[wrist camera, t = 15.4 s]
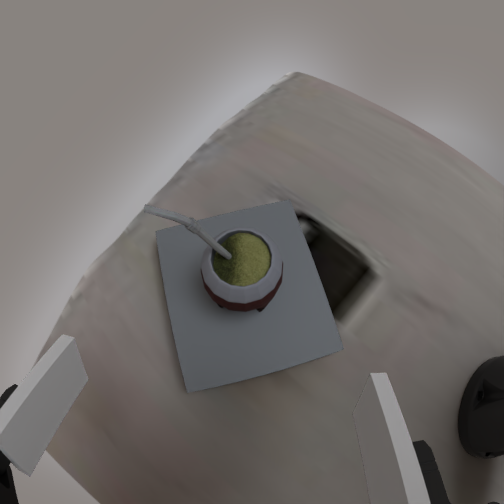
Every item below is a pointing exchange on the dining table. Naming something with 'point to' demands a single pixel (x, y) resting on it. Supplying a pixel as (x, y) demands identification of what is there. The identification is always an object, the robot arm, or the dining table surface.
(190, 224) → the mate gourd
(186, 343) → the riser
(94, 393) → the dining table surface
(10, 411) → the robot arm
